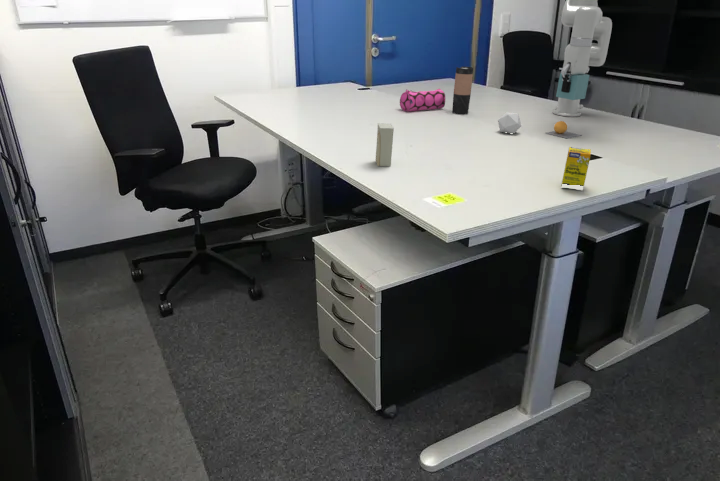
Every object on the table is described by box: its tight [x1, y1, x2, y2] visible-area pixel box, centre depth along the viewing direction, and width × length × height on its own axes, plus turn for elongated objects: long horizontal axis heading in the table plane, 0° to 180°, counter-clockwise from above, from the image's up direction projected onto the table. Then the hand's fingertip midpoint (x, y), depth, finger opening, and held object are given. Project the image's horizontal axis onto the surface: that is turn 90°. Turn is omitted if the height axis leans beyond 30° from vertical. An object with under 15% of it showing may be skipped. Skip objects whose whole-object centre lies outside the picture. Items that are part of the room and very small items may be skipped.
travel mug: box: [451, 66, 474, 115], centre depth 245 cm, size 8×8×20 cm
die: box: [497, 111, 522, 134], centre depth 214 cm, size 8×9×10 cm
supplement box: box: [561, 146, 592, 186], centre depth 154 cm, size 6×6×11 cm
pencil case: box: [399, 88, 446, 113], centre depth 251 cm, size 21×10×10 cm, turn 122°
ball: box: [553, 120, 568, 134], centre depth 216 cm, size 5×5×5 cm
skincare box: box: [375, 122, 395, 167], centre depth 169 cm, size 6×4×12 cm
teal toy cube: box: [555, 72, 590, 100], centre depth 209 cm, size 8×8×9 cm
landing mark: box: [545, 130, 582, 139], centre depth 217 cm, size 10×10×1 cm
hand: (571, 91), depth 210 cm, fingers closed on teal toy cube, 7 cm apart
